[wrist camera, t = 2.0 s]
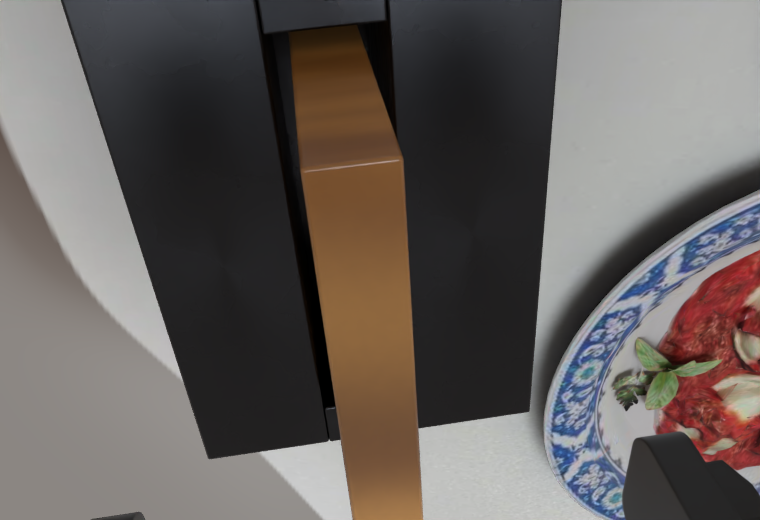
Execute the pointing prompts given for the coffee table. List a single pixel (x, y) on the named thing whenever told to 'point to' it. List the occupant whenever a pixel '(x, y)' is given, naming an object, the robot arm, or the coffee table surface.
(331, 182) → the toast
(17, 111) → the coffee table surface
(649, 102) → the coffee table surface
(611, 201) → the coffee table surface
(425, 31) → the toaster
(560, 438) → the ceramic plate
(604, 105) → the coffee table surface
